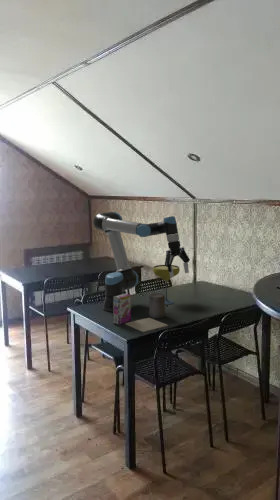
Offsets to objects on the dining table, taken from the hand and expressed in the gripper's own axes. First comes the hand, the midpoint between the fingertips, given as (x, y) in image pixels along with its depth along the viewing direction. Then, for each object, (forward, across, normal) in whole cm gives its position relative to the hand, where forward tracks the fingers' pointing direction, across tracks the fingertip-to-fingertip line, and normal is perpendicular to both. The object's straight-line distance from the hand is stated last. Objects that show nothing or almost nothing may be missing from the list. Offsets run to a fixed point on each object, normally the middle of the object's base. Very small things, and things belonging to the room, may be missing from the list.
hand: (179, 274), depth 277 cm
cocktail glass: (+20, +13, +30) cm, 39 cm away
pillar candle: (+23, -14, +12) cm, 30 cm away
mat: (+24, -31, +4) cm, 39 cm away
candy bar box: (+21, -38, +17) cm, 46 cm away
